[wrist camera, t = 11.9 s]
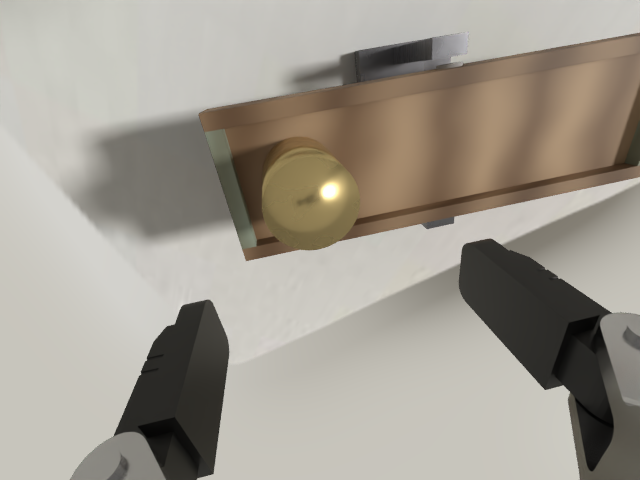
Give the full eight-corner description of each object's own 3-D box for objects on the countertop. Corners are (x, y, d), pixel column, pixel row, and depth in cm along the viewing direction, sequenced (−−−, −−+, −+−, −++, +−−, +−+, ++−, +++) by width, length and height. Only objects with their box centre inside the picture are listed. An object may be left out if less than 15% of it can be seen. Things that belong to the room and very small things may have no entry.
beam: (652, 27, 22) (705, 20, 19) (606, 168, 27) (643, 178, 24) (206, 105, 19) (197, 110, 17) (248, 243, 24) (246, 263, 22)
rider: (330, 129, 19) (355, 147, 14) (340, 201, 22) (364, 239, 17) (253, 144, 19) (249, 168, 14) (272, 215, 21) (274, 258, 16)
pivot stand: (444, 36, 26) (510, 20, 19) (437, 189, 33) (484, 218, 26) (354, 51, 25) (389, 41, 18) (366, 203, 32) (395, 238, 25)
